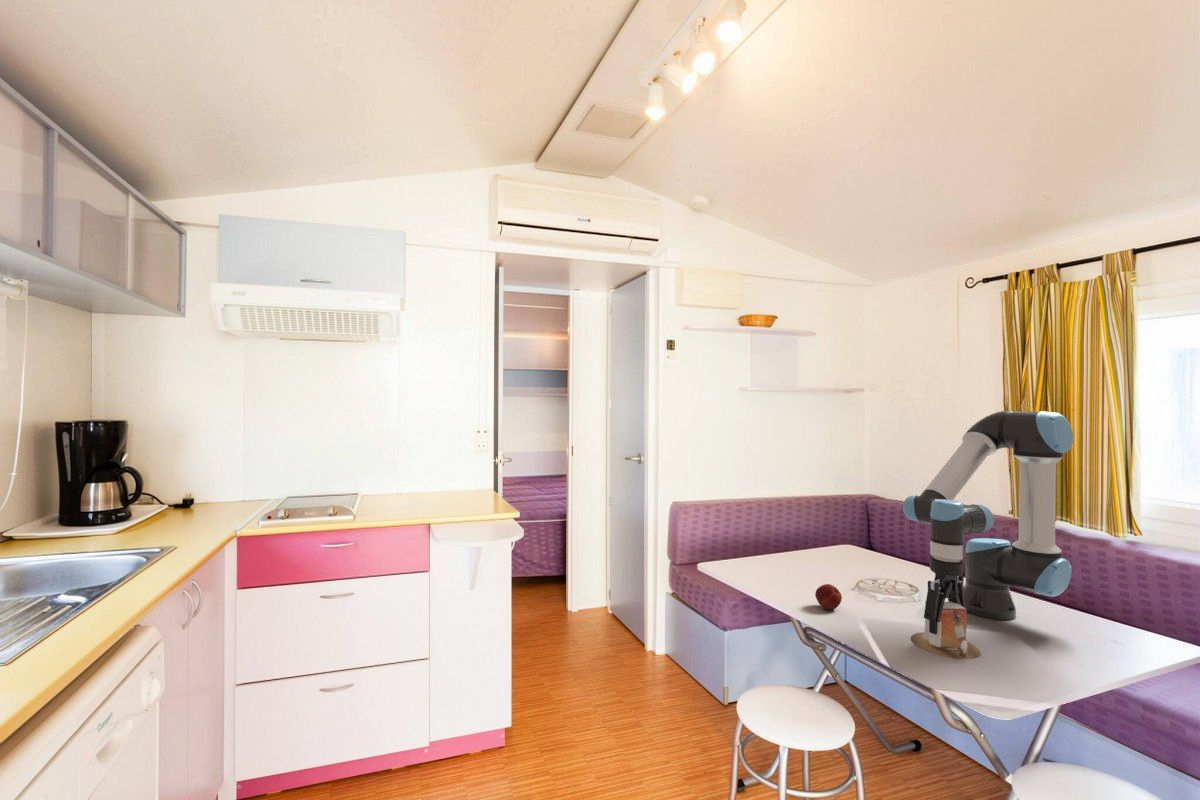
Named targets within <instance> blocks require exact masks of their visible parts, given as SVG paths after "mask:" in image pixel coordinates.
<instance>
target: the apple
mask: <svg viewBox="0 0 1200 800" xmlns="http://www.w3.org/2000/svg"><path fill="white" fill-rule="evenodd" d="M842 596H843V595H842V593H841V592H840V590H839V589H838V588H837V587H836V586H834V585H832V584H830V583H826V584H825V583H824V584H823V585H820V586H818V588H817V589H816V590H815V595H814V597H815V599H816V601H817V603H818V604H819V606H820V607H821V608H823V609H824V610H828V611H832V610H835V609H837V608H838V607H839V606H840V604H841V603H842V599H843V597H842Z"/></svg>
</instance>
